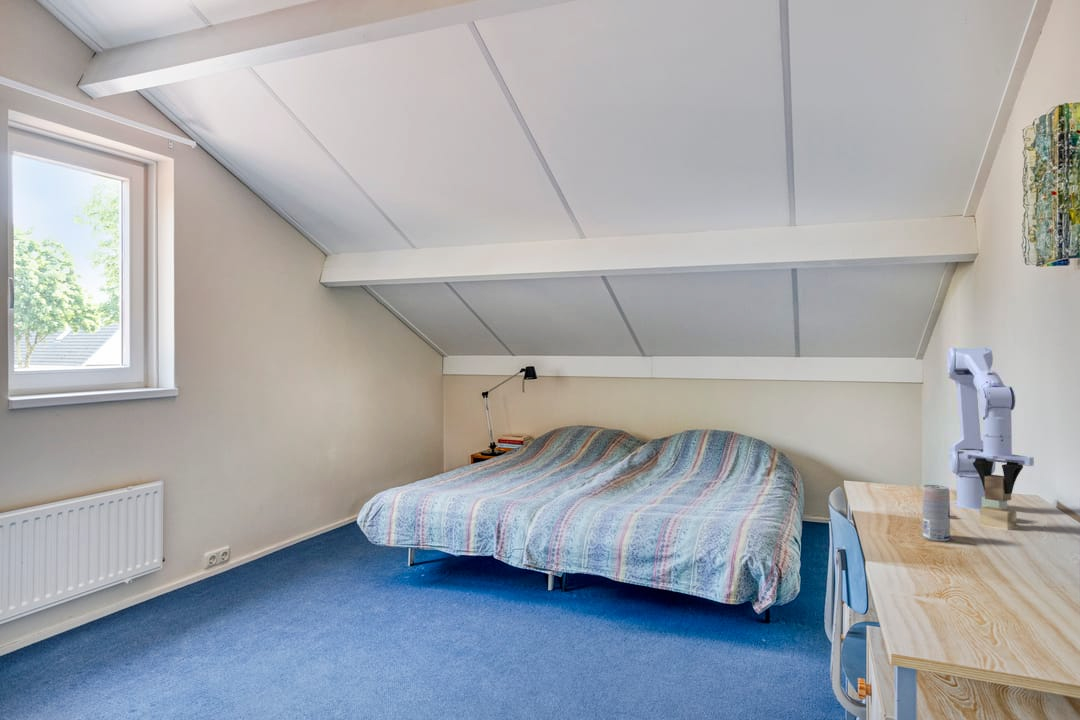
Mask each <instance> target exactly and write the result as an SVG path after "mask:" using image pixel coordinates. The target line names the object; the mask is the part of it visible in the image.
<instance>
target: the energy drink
mask: <svg viewBox="0 0 1080 720" xmlns="http://www.w3.org/2000/svg"><path fill="white" fill-rule="evenodd" d="M950 495H951V494H950V490H949V487H948V486H945V485H939V484H924V485H923V488H922V537H923V538H924V539H925V540H927V541H932V542H938V543H939V542H940V543H947V542H949V541H950V540H951V521H950V520H951V514H950V513H951V512H950V511H951V510H950V507H951V506H950V505H951V503H950V502H951V501H950V500H951V499H950V498H951V497H950ZM946 541H947V542H946Z"/></svg>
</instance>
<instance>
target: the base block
mask: <svg viewBox="0 0 1080 720" xmlns="http://www.w3.org/2000/svg"><path fill="white" fill-rule="evenodd" d="M1017 522H1018V521H1017V510H1016V509H1010V508H1007V509H1005V508H999V507H993V506H986V507H983V508H980V511H979V524H980V525H979V526H983V525H986V526H985V527H988V526H991V527H990V528H993V527H996V528H995V529H998V528H1001V529H1000V530H1004V529H1007V530H1006V531H1009V530H1008V529H1010V530H1012V529H1011V528H1014V529H1016V528H1015V527H1017V528H1018V525H1017Z"/></svg>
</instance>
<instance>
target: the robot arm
mask: <svg viewBox="0 0 1080 720" xmlns="http://www.w3.org/2000/svg"><path fill="white" fill-rule="evenodd" d="M993 362H994V357H993V352H992V350H991V348H989V347H988V346H987V347H950V348H949V349H948V351H947V355H946V368H947V375H948V379H950V380H952V381H954V382H955V386H956V393H957V394H956V395H957V407H958V408H957V409H958V422H959V433H960V434H959V435H960V436H959V437H960V439H959V440H957V441H956V442H954V443H953V444H952V445H950V448H949V457H948V462H949V469H950V471H951V472H952V473H953V474H955V475H956V503H952V504H951V503H950V507H956V508H962V509H968V510H972V511H979V512H980V508H982V497H985V476H989V475H994V473H995V472H996V471H995V470H996V463H1002V464H1001V469H1002V473H1003V476H1004V490H1005V494H1011V495H1012V494H1013V491H1014V490H1013V489H1014V486H1015V483H1016V480H1017V479H1018V476H1019V475H1020V473H1021V471H1022V470H1023V468H1024V466H1026V467H1032V466H1034V462H1035V461H1034V456H1024V455H1017V454H1013V453H1012V451H1013V449H1012V446H1013V445H1012V435H1013V433H1012V411H1013V410H1014V409H1015V406H1016V393H1015V389H1014V388H1013V386H1011V385H1005V384H1004V382H1003V380H1002V379H1001V377H1000V375H999V374H998V373H997V372H996V371H995V370H991V368H992V366H993ZM979 407H980V413H979ZM980 415H981V417H982V434H983V436H982V437H983V438H982V437H981V423H980ZM1003 463H1004V464H1003Z"/></svg>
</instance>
